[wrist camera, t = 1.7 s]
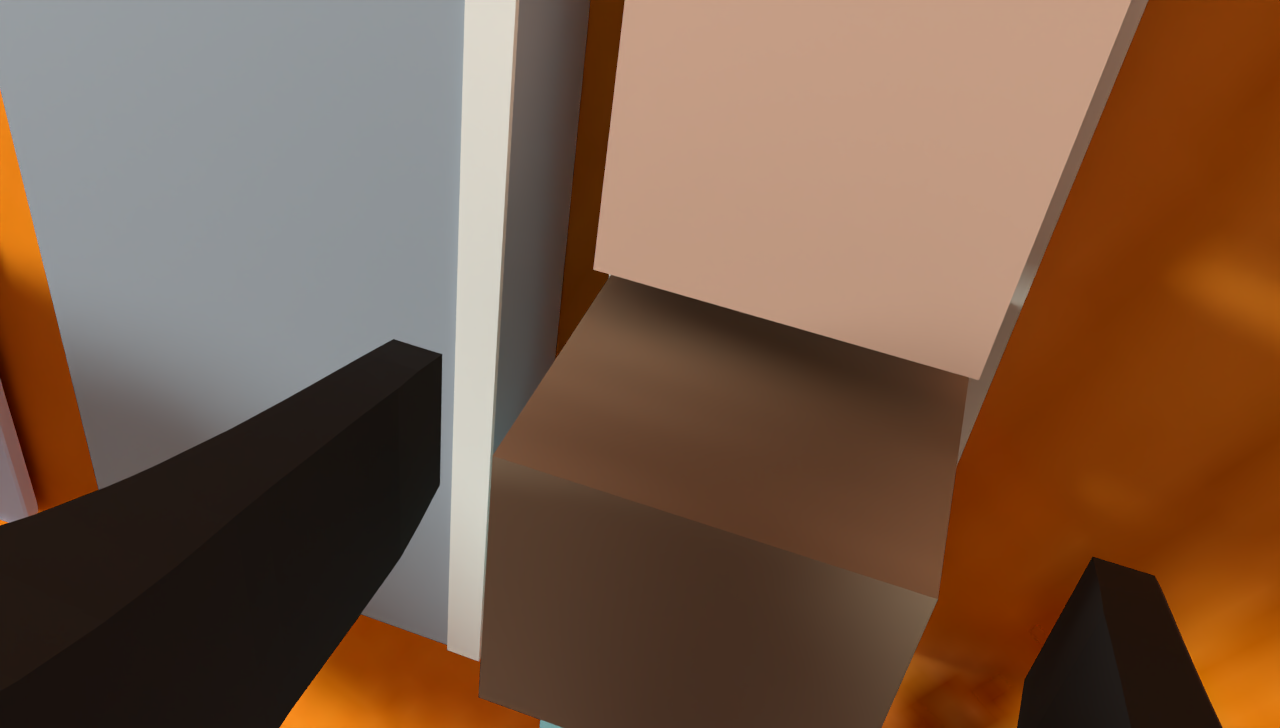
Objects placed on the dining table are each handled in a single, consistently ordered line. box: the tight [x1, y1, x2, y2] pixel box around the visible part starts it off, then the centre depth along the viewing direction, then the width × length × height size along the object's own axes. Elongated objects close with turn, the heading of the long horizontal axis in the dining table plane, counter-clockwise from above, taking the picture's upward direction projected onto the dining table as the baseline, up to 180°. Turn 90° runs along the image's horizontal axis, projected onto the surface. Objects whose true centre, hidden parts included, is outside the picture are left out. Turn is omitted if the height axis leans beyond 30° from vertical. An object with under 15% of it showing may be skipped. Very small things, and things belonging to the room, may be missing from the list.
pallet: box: [479, 0, 1148, 728], centre depth 13 cm, size 5×13×7 cm, turn 173°
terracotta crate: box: [593, 0, 1131, 380], centre depth 11 cm, size 4×4×2 cm
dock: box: [0, 0, 590, 661], centre depth 16 cm, size 8×15×3 cm, turn 173°
